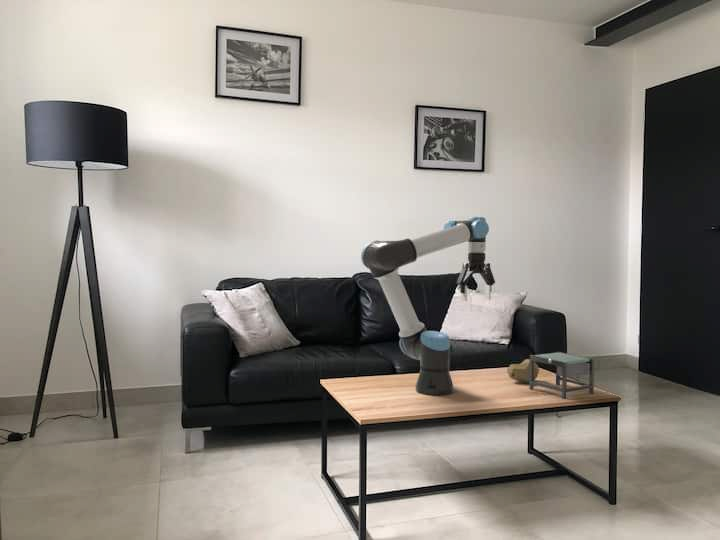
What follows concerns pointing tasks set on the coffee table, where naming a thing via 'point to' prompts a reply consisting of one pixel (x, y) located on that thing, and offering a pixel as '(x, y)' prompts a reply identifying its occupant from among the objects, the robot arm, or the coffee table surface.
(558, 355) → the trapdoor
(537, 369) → the low-poly potato
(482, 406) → the coffee table surface
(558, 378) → the stand
